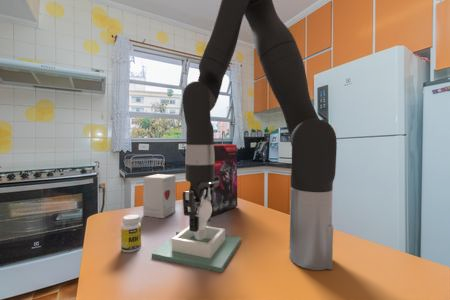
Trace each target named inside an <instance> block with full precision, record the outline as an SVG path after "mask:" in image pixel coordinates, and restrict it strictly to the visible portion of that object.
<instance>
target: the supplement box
mask: <svg viewBox="0 0 450 300" xmlns="http://www.w3.org/2000/svg"><path fill="white" fill-rule="evenodd" d="M142 180H143V184H142V185H143V194H142V195H143V198H142V200H143V202H142V204H143V207H142V208H143V209H142V210H143V211H142V213H143V214H142V215H143V216H144V217H150V218H156V219H165V218H166V217H168V216H170V215H171V214H174V213H176V174H162V173H156V174H151V175H146V176H143V179H142Z"/></svg>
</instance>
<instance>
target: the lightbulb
mask: <svg viewBox="0 0 450 300" xmlns="http://www.w3.org/2000/svg"><path fill="white" fill-rule="evenodd" d="M195 203H199V202H195ZM188 210H189V207H188ZM195 211H196V207H195ZM211 214H212V206H211V203H210V202H209V201H208V200H207V199H204V200H203V205H202V207H201V208H200V210H199V215H198V216H199V230H198V231H197V232H195V238H196V239H198V240H202V239H204V238H205V228H206V226H208V225H207V223H208V222H207V221H208V220H209V218H210V219H211V217H212V216H211Z"/></svg>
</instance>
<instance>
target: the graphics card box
mask: <svg viewBox="0 0 450 300" xmlns="http://www.w3.org/2000/svg"><path fill="white" fill-rule="evenodd" d="M237 148H238V147H237V144H234V143H233V144H232V143H231V144H230V143H219V144H218V143H215V144H214V153H215V179H214V180H213V181H211V182H210V183H214V203H213V204H211V206H212V214H211V216H210V217H213V216H216V215H219V214H220V213H221V214H222V213H223V212H224V213H225V212H227V211H228V210H232V209H234V208H236V207H238V161H237V154H238V153H237Z"/></svg>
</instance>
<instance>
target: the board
mask: <svg viewBox="0 0 450 300" xmlns="http://www.w3.org/2000/svg"><path fill="white" fill-rule="evenodd" d="M175 233H176V234H175V236H173V237H172V238H171V239H169V240H168V241H167V242H165V243H164V244H163V245H161V246H159V248H157V249H156V250H154V251H153V252H151V258H153V259H157V260H162V261H167V262H171V263H176V264H180V265H184V266H189V267H195V268H199V269H204V270H209V271H212V272H217V273H222V272H223V270H224V269H225V267H226V266H227V264H228V263H229V261H230V259H231V258H232V256H233V255H234V253H235V251H236V250H237V248H238V247H239V245H240V244H241V242H242V237H239V236H233V235H227V234H226V228H222V227H215V226H208V225H206V228H205V238H204V239H202V240H198V239H196V238H195V232H193V231H190V229H189V226H187V227H186V228H180V229H178V230H177V231H176V232H175Z"/></svg>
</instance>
